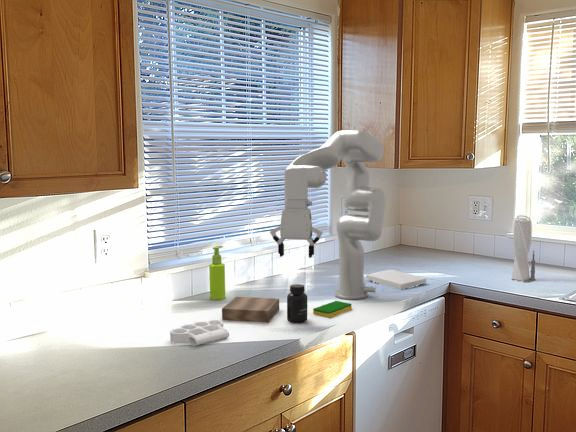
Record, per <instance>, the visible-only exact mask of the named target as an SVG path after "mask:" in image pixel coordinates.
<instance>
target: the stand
mask: <svg viewBox="0 0 576 432" xmlns="http://www.w3.org/2000/svg"><path fill="white" fill-rule="evenodd" d="M279 311H280V298H274V297H273V298H272V297H251V296H250V297H249V296H235V297H234V298H233V299H231V301H229V302H228V303H227V304H225V306H224V307H222V308H221V321H229V322H232V321H233V322H246V323H247V322H249V323H263V324H264V323H268V324H269V322H270V321H271V320H272V319H273V318H274V317H275V315H276V314H277V313H278V312H279Z"/></svg>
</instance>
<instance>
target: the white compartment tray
mask: <svg viewBox="0 0 576 432" xmlns="http://www.w3.org/2000/svg"><path fill="white" fill-rule="evenodd" d="M169 334H170V335H169V336H170V338H169V339H170V342H171V343H172V342H174V343H173V344H189V345H191V346H192V347H197V346H200V345H203V344H208V343H213V342H216V341H220V340H223V339H224V340H225V339H227V338H229V337H230V332H229V331H228V329H226V328H225V327H224V322H223V320H220V319H210V320H206V321H195V322H191V323H189V324H188V323H187V324H183V325H181V326H180V327H177V328H172V329H170V331H169Z"/></svg>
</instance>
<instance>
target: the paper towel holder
mask: <svg viewBox="0 0 576 432" xmlns="http://www.w3.org/2000/svg"><path fill="white" fill-rule="evenodd" d="M532 226H533V225H532V220H531V218H530V217H529V216H527V215H521V214H520V215H517V216H516V217H515V218H514V224H513V230H512V231H513V234H512V237H513V238H512V241H513V242H512V243H513V251H514V261H513V267H512V274H511V280H512V281H515V280H517V281H516V282H521V281H523V282H522V283H527V282H528V283H531V282H533V281H534V282H535V281H536V280H537V279H536V276H535V275H536V274H535V273H536V270H535V269H536V266H535V265H536V260H535V250H532V260H531V261H530V262H529V257H528V256H529V252H530V248H531V244H532V238H533V237H532V235H533V233H532V232H533V230H532ZM529 263H531V264H530V265H531V267H530V265H529ZM530 281H531V282H530Z"/></svg>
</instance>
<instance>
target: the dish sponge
mask: <svg viewBox="0 0 576 432" xmlns="http://www.w3.org/2000/svg"><path fill="white" fill-rule="evenodd" d="M352 307H353V306H352V303H350V302H349V303H348V302H343V301H339V300H334V301H331V302H328V303H327V304H323V305H320V306H318V307H314V308H313V309H312V311H313V312H312V315H314V316H319V317H323V318H327V319H330V318H333V317H335V316H339V315H341V314H343V313H346V312H349V311H351V310H352Z"/></svg>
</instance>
